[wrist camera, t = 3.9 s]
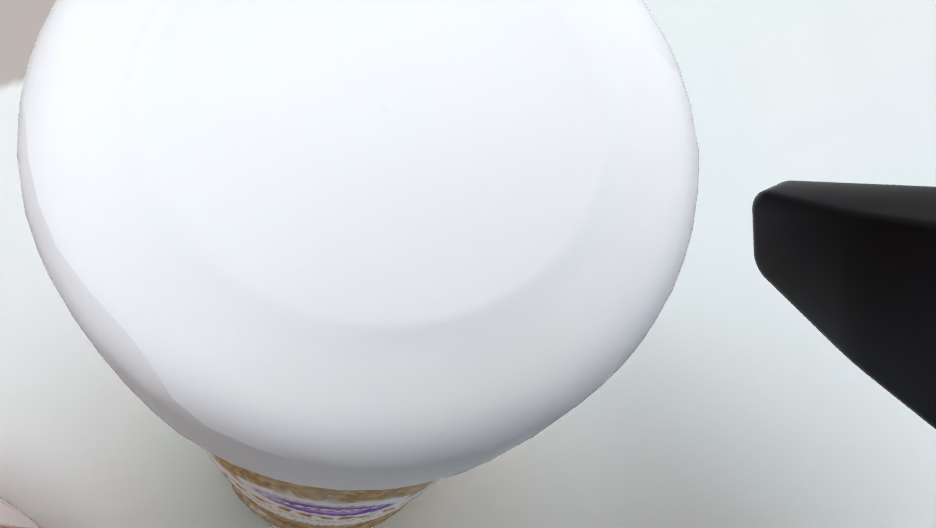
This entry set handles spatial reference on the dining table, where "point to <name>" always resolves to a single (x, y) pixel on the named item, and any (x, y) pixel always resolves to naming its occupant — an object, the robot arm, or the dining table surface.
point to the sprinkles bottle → (358, 223)
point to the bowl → (14, 517)
